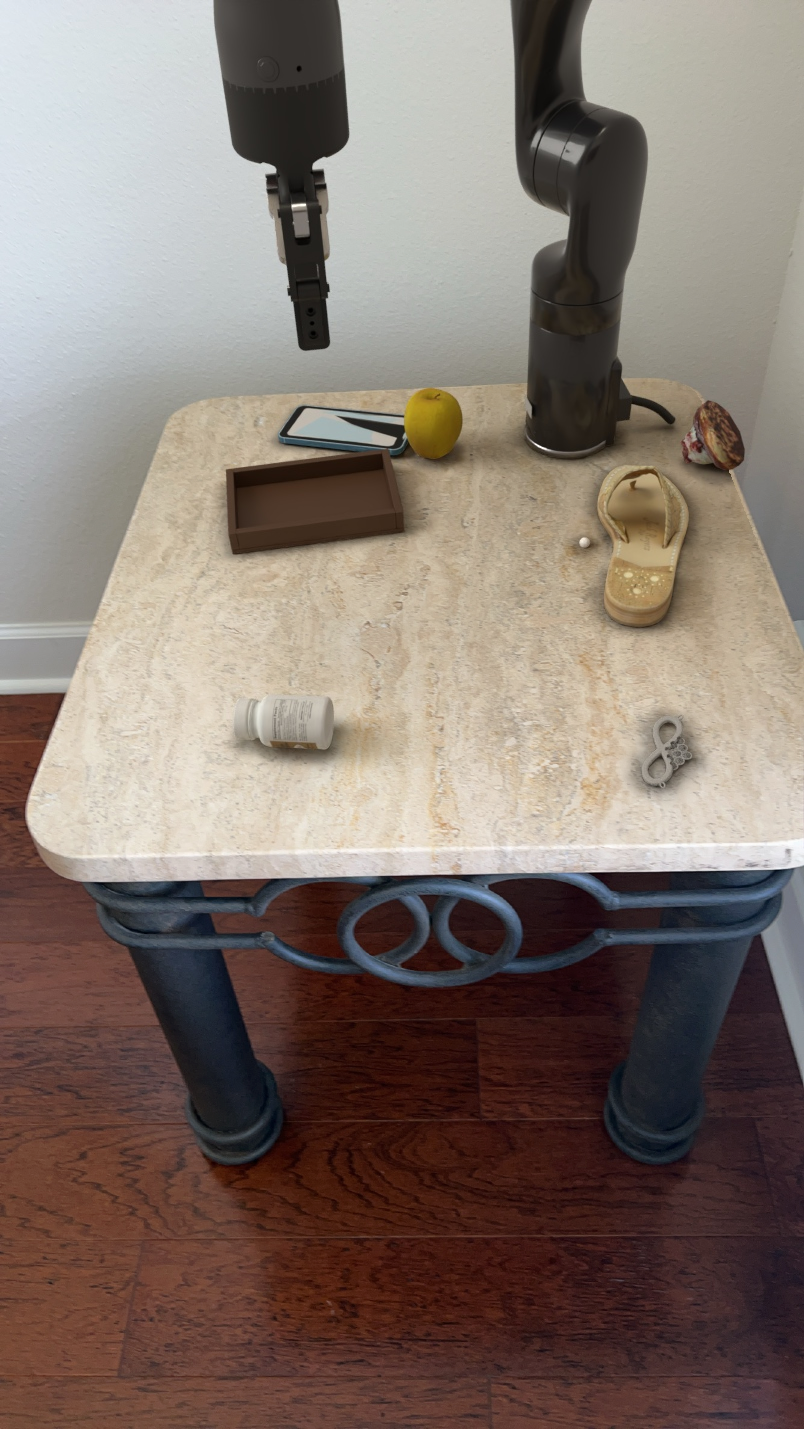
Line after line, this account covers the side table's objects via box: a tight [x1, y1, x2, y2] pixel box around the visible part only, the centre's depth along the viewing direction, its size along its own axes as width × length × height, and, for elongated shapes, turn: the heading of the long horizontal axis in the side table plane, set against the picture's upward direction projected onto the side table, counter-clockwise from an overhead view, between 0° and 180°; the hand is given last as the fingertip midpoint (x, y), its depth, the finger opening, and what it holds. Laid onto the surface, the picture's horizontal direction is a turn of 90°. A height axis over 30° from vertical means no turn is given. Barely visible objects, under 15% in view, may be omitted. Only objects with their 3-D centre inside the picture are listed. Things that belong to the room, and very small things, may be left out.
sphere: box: [579, 537, 591, 549], centre depth 101 cm, size 1×8×1 cm, turn 4°
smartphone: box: [277, 404, 409, 456], centre depth 119 cm, size 7×1×15 cm
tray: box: [225, 449, 405, 555], centre depth 109 cm, size 18×12×2 cm, turn 98°
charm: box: [641, 714, 693, 789], centre depth 84 cm, size 8×1×4 cm
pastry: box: [679, 399, 746, 471], centre depth 110 cm, size 8×8×5 cm
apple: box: [403, 387, 464, 460], centre depth 112 cm, size 6×6×8 cm
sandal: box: [596, 464, 690, 628], centre depth 100 cm, size 13×23×8 cm, turn 150°
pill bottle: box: [232, 693, 335, 750], centre depth 86 cm, size 4×4×8 cm
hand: (311, 319), depth 75 cm, fingers open, 8 cm apart
